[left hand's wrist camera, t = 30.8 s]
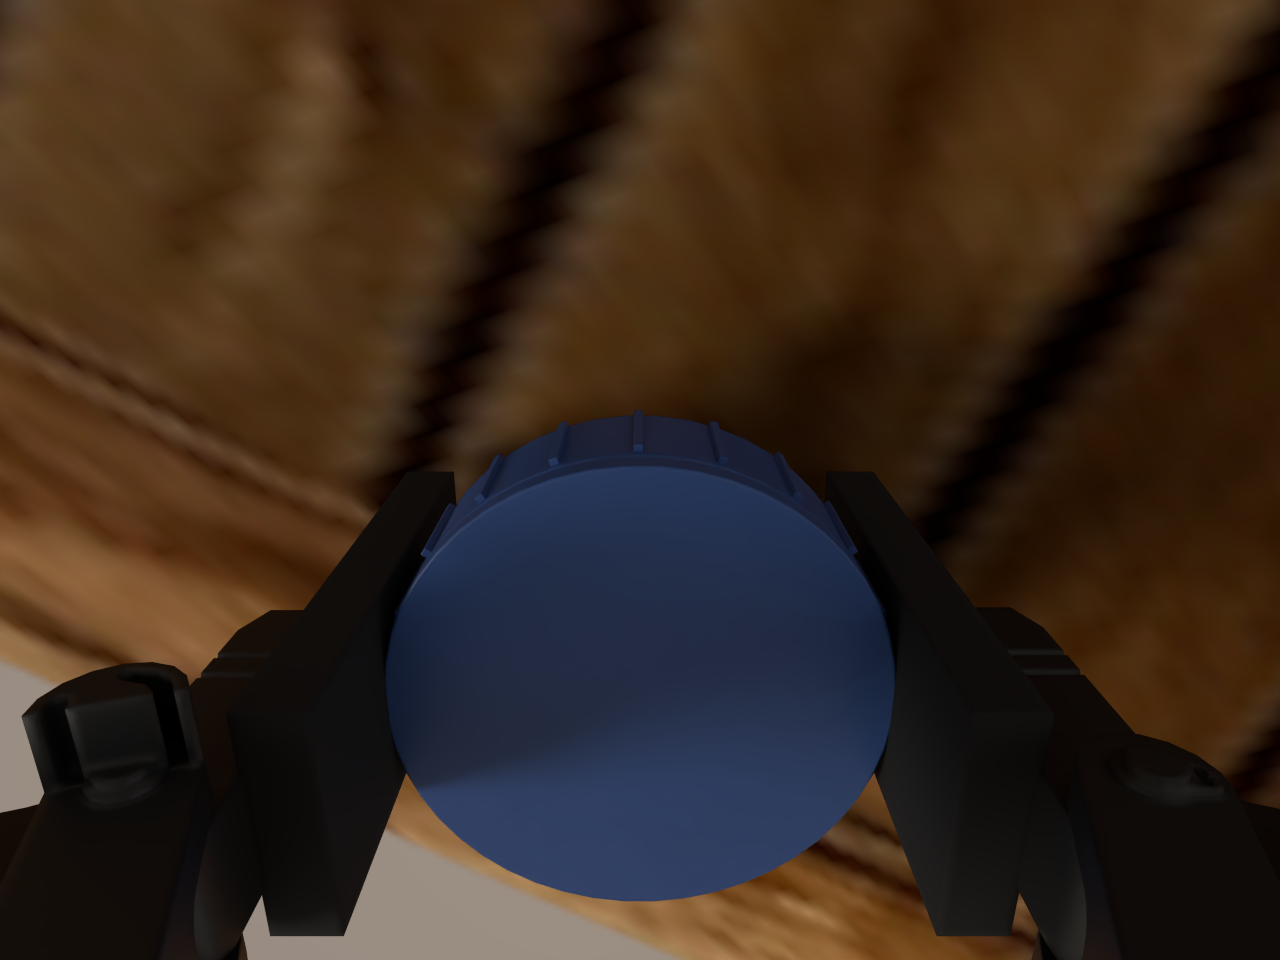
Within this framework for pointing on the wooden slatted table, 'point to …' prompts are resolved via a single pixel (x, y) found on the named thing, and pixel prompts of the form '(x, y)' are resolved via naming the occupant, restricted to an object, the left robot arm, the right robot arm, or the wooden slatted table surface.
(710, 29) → the wooden slatted table surface
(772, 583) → the lid
